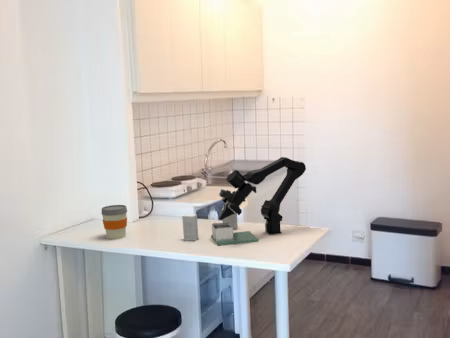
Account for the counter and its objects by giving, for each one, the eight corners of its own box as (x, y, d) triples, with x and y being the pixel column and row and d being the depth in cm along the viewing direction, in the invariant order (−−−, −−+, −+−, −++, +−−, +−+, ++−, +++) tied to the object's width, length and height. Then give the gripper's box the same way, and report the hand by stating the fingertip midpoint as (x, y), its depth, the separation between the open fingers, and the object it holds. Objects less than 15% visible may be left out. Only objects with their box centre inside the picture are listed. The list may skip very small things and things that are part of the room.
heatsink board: (249, 233, 254) (248, 217, 253) (258, 241, 239) (257, 224, 238) (211, 236, 251) (210, 220, 250) (217, 245, 235) (216, 228, 234)
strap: (226, 224, 245) (226, 222, 245) (228, 225, 241) (228, 224, 241) (212, 224, 244) (212, 223, 243) (214, 226, 240) (214, 225, 240)
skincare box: (198, 238, 249) (197, 214, 247) (195, 241, 245) (193, 216, 243) (187, 238, 251) (185, 213, 249) (183, 240, 247) (181, 215, 245)
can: (238, 226, 268) (237, 203, 266) (237, 230, 260) (235, 207, 259) (223, 227, 269) (222, 204, 267) (222, 230, 261) (221, 207, 260)
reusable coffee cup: (98, 237, 260) (96, 208, 258) (119, 232, 269) (117, 203, 267) (113, 241, 251) (110, 211, 249) (134, 235, 261) (131, 206, 259)
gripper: (224, 180, 250) (203, 204, 249) (233, 186, 232) (210, 212, 231) (241, 194, 252) (220, 219, 252) (251, 201, 234) (228, 228, 234)
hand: (219, 219), depth 242 cm, fingers closed
